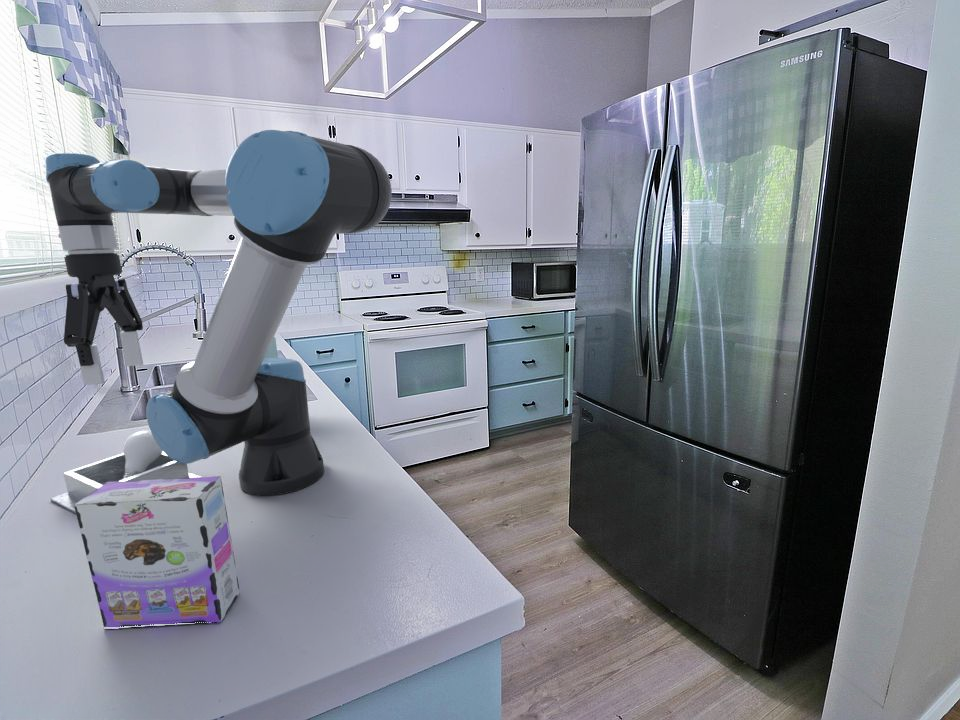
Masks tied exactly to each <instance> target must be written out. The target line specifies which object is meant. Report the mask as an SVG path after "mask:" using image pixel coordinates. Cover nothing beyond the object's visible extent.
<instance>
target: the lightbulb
mask: <svg viewBox="0 0 960 720" xmlns="http://www.w3.org/2000/svg"><path fill="white" fill-rule="evenodd" d="M122 451H123V452H122V453H124V456H125V460H126V464H125V472H124V475H123V479H126V478H129V477H131V476H134V475H137V474H140V473H142V472H145V470H146V469H147V467H148V466H149V465H150V464H151V463H153V462H154V461H155V460H157V459H158V458H159V457H160V455H161V454H162V452H163V451H162V449H161V448H160V447H159V445H158V444H157V442H156V441H155V439H154V437H153V435H152V433H151V430H148V429H147V430H146V429H144V430H139V431H138V430H137V431H136V432H133V433H132V434H131V435H129V436H128V437H127V438H126V440H125V441H124V443H123V448H122ZM123 479H122V480H123Z"/></svg>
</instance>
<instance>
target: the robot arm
mask: <svg viewBox="0 0 960 720" xmlns="http://www.w3.org/2000/svg"><path fill="white" fill-rule="evenodd" d="M229 159H230V160H229V162H228V164H227V168H226V169H205V170H204V169H203V170H201V169H200V170H199V169H198V170H197V169H195V170H185V169H174V168H165V167H158V166H151V165H145V164H142V163H140V162H139V161H136V160H132V159H118V158H114V159H111V160H109V161H108V160H105V161H104V162H101V160H100V159H99V158H98V157H96V156H95V155H91V154H86V153H78V152H77V153H75V152H61V153H56V152H55V153H50V154H48V155H46V157H45V159H44V165H45V173H46V175H45V179H46V182H47V186H48V189H49V193H50V198H51V202H52V207H53V210H54V215H55V220H56V223H57V226H58V232H59V233H58V238H59V239H60V242H61V246H62V250H63V251H64V252H68V254H66V255H65V256H64V257H63V258H64V262H65V267H66V272H67V275H68V276H69V277H71V278H77V280H78V283H67V284H66V285H65V291H66V310H65V321H64V322H65V323H64V333H63V343H64V345H66V346H67V347H69V348H71V347H72V348H74V347H75V349H76V353H77V358H78V362H79V367H80V371H81V376H82V381H83V385H84V386H92V385H103V384H104V383H105V378H104V373H103V368H102V364H101V363H102V362H101V359H100V351H99V348H98V343H97V344H96V343H95V344H93V343H94V340H95V335H96V331H97V326H98V323H99V318H100V314H101V313H102V312H103V311H104V310H105V309H106V310H107V312H108V313H109V314H110V316H111V318H113V320H114V322H116V324H117V325H118V327H119V329H120V330H122V331H121V332H119V336H120V337H119V338H120V342H121V347H122V350H123V351H122V352H123V357H124V362H125V367H135V366H136V367H137V366H143V365H144V361H143V355H142V350H141V345H140V340H139V334H138V333H139V332H138V331H143V329H144V326H143V321H142V318H141V316H140V314H139V311H138V309H137V307H136V305H135V303H134V301H133V297H132V296H131V294H130V291H129V289H128V285H127V281H126V279H125V278H115V277H114V276H118V275H121V274H122V273H123V269H122V263H121V259H120V255H119V254H118V253H116V252H115V250H118V249H119V246H118V241H117V237H116V232H115V227H114V226H115V225H114V223H113V222H114V221H113V215H112V214H146V215H147V214H149V215H150V214H151V215H152V214H154V215H155V214H156V215H184V216H185V215H186V216H187V215H188V216H201V217H213V216H225V217H227V216H229V217H230V216H232V217H234V218H233V224H234V227H235V229H236V231H237V232H238V233H239V235H240V236H241V238H240V240H239V243H238V245H237V248H236V251H235V253H234V256H233V259H232V261H231V264H230V266H229V270H228V271H227V272H228V273H227V275H226V277H225V280H224V283H223V286H222V288H221V291H220V293H219V295H218V299H217V302H216V304H215V306H214V309H213V311H212V313H211V318H210V319H209V322H208V324H207V326H206V327H207V328H206V329H205V330H206V331H205V333H204V336H203V339H202V341H201V343H200V346H199V349H198V352H197V354H196V357H195V360H193V361H191V362H189V363H186V364H184V365H183V366H182V367H181V368H180V369H179V371H178V372H177V373H176V374H177V375H176V378H175V380H174V381H173V382H174V383H173V386H172V387H171V389H170V390H168V391H159V392H158V393H157V394H154V395H153V396H151V397H150V398H149V399H148V401H147V403H146V410H145V412H146V414H145V415H146V421H147V425H148V428H149V431H151V433H152V435H153V437H154V439H155V441H156V442H157V444H158V445H159V447H160V448H161V449H162V451H163V452H164V453H165V454H166V455H167V456H168V457H170V458H171V459H173V460H174V461H176V462H179V463H185V464H187V465H188V464H192V463H195V462H197V461H201V460H206V459H208V458H210V457H211V456H214V455H216V454H218V453H221V452H223V451H225V450H228V449H230V448H232V447H234V446H237V445H239V444H241V443H244V446H243V452H242V456H241V462H240V469H239V471H238V479H239V487H240V489H241V490H242V491H243V492H245V493H247V494H250V495H255V496H275V495H276V496H277V495H282V494H287V493H291V492H295V491H298V490H299V491H300V490H301V489H304V488H306V487H309V486H310V485H313V484H314V483H315V482H317V481H318V480H319V479H321V478H322V477H323V475H324V473H325V463H324V459H323V456H322V454H321V451H320V450H319V448H318V446H317V444H316V442H315V440H314V437H313V436H312V432H311V425H310V415H309V414H310V413H309V405H308V395H307V394H308V393H307V386H306V385H307V384H306V383H307V380H306V379H305V373H304V369H303V365H302V364H301V363H300V361H298V360H297V359H292V358H285V357H284V358H281V357H278V358H264V357H265V355H266V353H267V351H268V349H269V346H270V344H271V342H272V340H273V338H274V337H275V335H276V333H277V331H278V329H279V327H280V324H281V323H282V322H281V321H282V320H283V318H284V316H285V314H286V311H287V309H288V307H289V305H290V303H291V300H292V298H293V296H294V294H295V292H296V290H297V288H298V285H299V283H300V281H301V279H302V277H303V274H304V272H305V270H306V268H307V266H310V265H315V264H317V263H320V262H321V261H322V260H323V259H324V258H325V255H326V253H327V250H328V249H329V247H330V245H331V242H332V241H333V238H334V236H335V235H336V234H338V235H339V234H340V235H342V234H356V233H357V234H359V233H362V232H365V231H368V230H371V229H373V228H374V227H375V226H377V225H378V224H379V223H380V222H381V221H382V220H383V219H384V218H385V216H386V215H387V213H388V210H389V209H390V205H391V202H392V191H393V190H392V185H391V180H390V177H389V174H388V172H387V170H386V168H385V167H384V166H383V164H382V163H381V162H380V160H379V159H378V157H377V158H376V157H375V156H374V155H373V154H372V153H370V152H369V151H367V150H365V149H363V148H361V147H359V146H354V145H350V144H345V143H340V142H335V141H333V140H328V139H324V138H319V137H315V136H311V135H308V134H306V133H304V132H300V131H293V130H285V131H284V130H278V129H277V130H276V129H265V130H262V131H258V132H254V133H252V134H251V135H249V136H248V137H246V138H245V139H243V141H241V143H239V145H237V147H236V148H235V150H234V151H233V154H232V155H231V157H230V158H229Z"/></svg>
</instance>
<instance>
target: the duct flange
mask: <svg viewBox="0 0 960 720" xmlns="http://www.w3.org/2000/svg"><path fill="white" fill-rule="evenodd" d="M125 464H126V460H125V456H124V452H122V453H119V454H117V455H113V456H110V457H108V458H104V459H102V460H97V461H95V462H92V463H88V464H87V465H83V466H80V467H77V468H74V469H71V470H68V471H65V472H63V477H64V482H65V486H66V490H67V492H64V493H60V494H58V495H56V496H53V497H50V501H51V502H52V503H54V504H56V505H57V506H58V505H59V506H60V507H62V508H64V509H66V510H68V511H69V512H72V513H73V514H75V515H76V512H75V508H74V505H75V504H76V503H77V502H79V501H80V500H82V499H83V498H85V497H86V496H88V495H89V494H90V493H92V492H93V491H95V490H96V489H98V488H99V487H101V486H102V485H104V484H105V483H107V482H118V481H141V480H158V479H178V478H196V477H201V476H199V475H197V474H194V473H191V472H189V468H188V464H185V463H179V462H176V461H174V460H173V459H171V458H170V457H168V456H167V455H166V454H165V453H164V452H162V454H161V455H160V457H159V458H158V459H157V460H155V461H154V462H153V463H151V464H150V465H149V466H148V467H147V469H146V470H145V472H142V473H140V474H137V475H134V476H131V477H129V478H126V479H123V475H124V472H125ZM122 479H123V480H122Z"/></svg>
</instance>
